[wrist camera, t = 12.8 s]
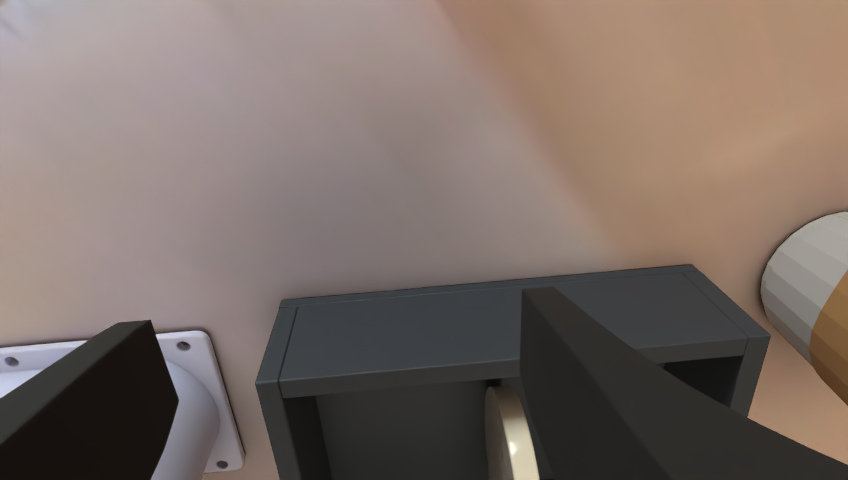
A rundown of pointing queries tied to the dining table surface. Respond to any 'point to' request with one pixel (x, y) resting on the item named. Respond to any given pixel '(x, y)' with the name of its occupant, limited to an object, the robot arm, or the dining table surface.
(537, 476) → the saucer
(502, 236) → the dining table surface
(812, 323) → the coffee cup
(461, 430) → the dark grey open box
